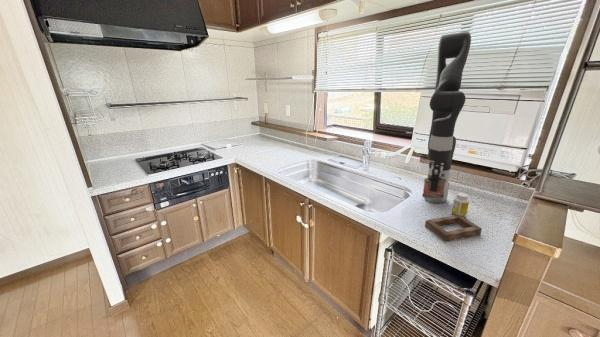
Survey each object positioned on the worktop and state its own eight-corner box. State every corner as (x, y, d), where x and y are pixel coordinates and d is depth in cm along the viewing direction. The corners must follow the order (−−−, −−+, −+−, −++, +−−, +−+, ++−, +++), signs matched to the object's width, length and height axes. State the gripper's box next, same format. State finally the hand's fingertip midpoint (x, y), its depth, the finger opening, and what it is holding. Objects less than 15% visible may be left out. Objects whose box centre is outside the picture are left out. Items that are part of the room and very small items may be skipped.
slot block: (457, 220, 105) (458, 214, 104) (480, 235, 95) (481, 228, 94) (424, 226, 102) (425, 220, 101) (445, 242, 92) (446, 235, 91)
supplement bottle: (467, 214, 109) (471, 194, 106) (464, 219, 105) (468, 198, 102) (453, 210, 113) (456, 190, 109) (449, 215, 109) (453, 195, 105)
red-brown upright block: (424, 198, 96) (427, 175, 93) (420, 194, 99) (423, 172, 96) (445, 198, 96) (449, 174, 92) (441, 194, 99) (444, 171, 96)
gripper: (430, 142, 98) (425, 180, 104) (426, 151, 87) (421, 194, 93) (452, 143, 95) (445, 183, 100) (451, 153, 83) (443, 197, 89)
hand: (434, 188), depth 96 cm, fingers closed on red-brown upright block, 4 cm apart
